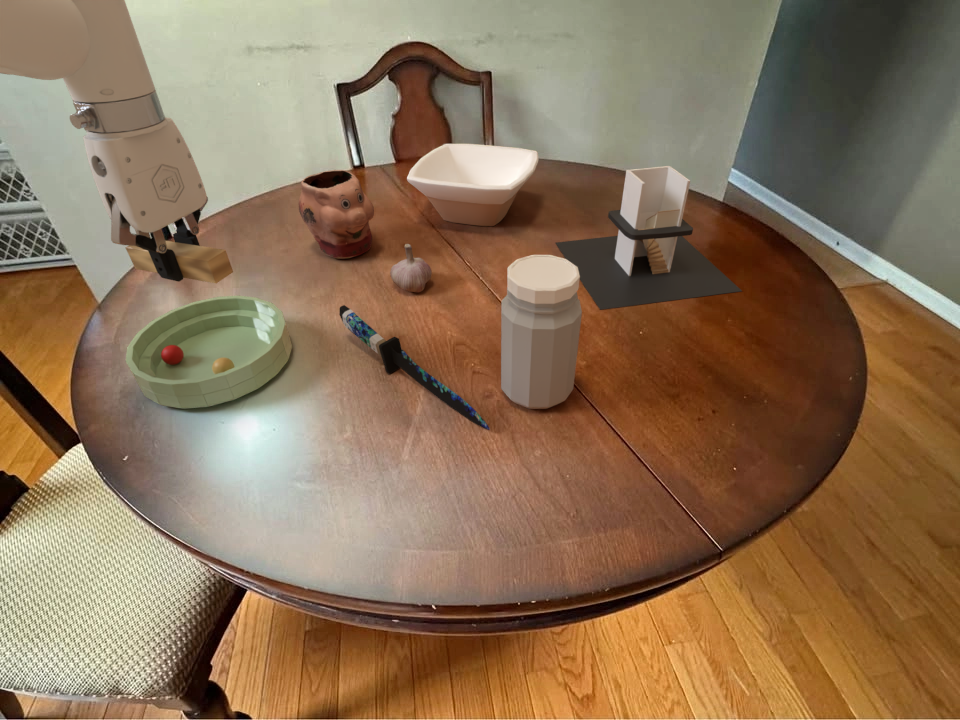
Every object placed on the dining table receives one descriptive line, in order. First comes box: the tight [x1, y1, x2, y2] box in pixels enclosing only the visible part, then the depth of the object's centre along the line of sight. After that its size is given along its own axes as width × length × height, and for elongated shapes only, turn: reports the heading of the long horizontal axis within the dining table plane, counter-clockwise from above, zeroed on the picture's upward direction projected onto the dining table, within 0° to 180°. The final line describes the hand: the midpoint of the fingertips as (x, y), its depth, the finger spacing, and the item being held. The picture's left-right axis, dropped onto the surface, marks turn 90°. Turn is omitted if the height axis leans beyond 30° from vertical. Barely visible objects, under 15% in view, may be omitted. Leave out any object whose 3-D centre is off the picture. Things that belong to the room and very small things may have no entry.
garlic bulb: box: [389, 243, 433, 293], centre depth 94 cm, size 8×7×8 cm
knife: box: [339, 304, 491, 431], centre depth 75 cm, size 31×3×4 cm, turn 42°
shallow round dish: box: [125, 295, 293, 409], centre depth 79 cm, size 21×21×5 cm
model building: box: [554, 165, 743, 310], centre depth 95 cm, size 25×24×16 cm
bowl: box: [406, 143, 539, 227], centre depth 116 cm, size 24×25×11 cm
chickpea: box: [212, 357, 235, 374], centre depth 76 cm, size 3×3×3 cm
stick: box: [124, 238, 234, 284], centre depth 67 cm, size 13×3×3 cm, turn 69°
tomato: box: [161, 345, 184, 365], centre depth 78 cm, size 3×3×3 cm
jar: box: [500, 254, 583, 410], centre depth 69 cm, size 10×10×18 cm
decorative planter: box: [298, 169, 375, 260], centre depth 104 cm, size 20×12×14 cm, turn 48°
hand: (183, 270), depth 68 cm, fingers closed on stick, 3 cm apart
